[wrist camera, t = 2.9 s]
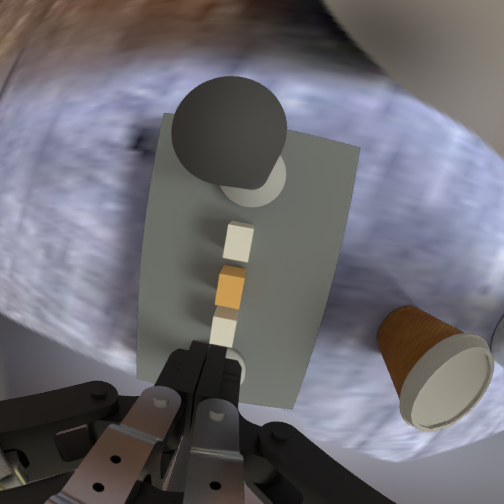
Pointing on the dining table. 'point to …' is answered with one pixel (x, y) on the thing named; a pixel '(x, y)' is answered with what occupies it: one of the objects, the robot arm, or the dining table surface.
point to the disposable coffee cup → (433, 367)
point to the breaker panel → (244, 264)
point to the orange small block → (230, 286)
